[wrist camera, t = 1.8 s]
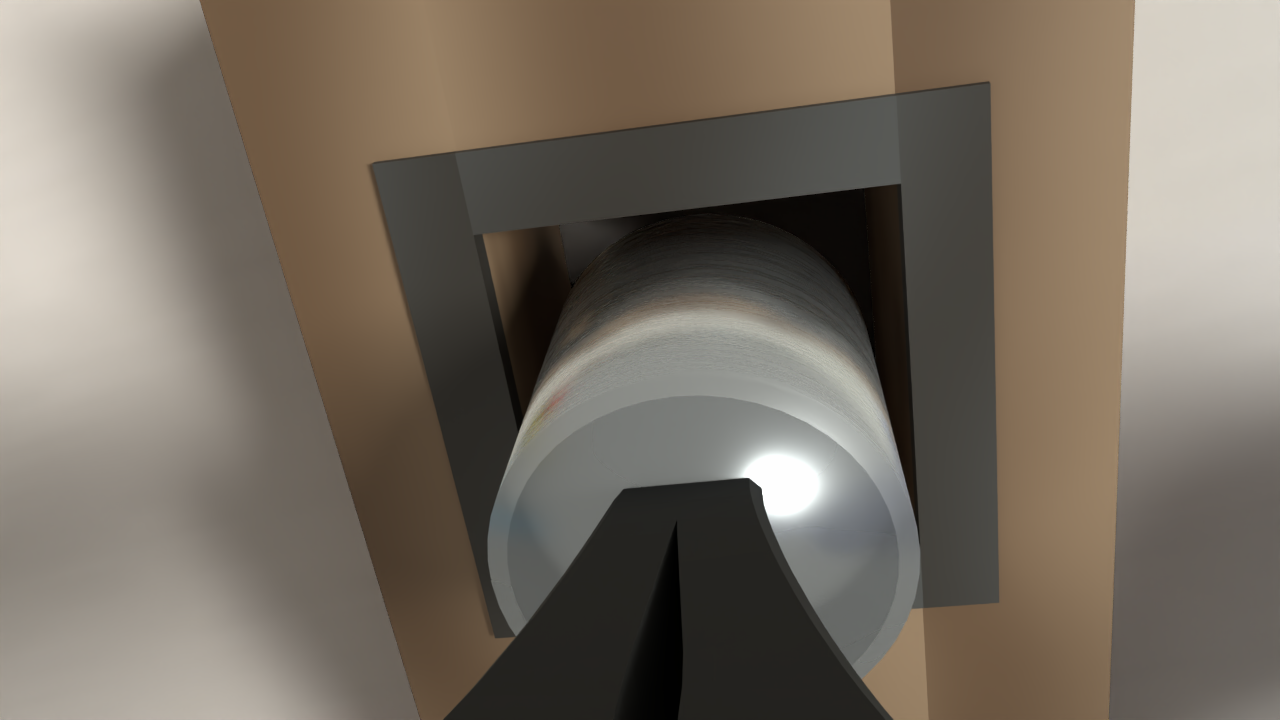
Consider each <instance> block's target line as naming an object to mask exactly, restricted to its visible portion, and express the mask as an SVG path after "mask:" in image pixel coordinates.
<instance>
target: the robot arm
mask: <svg viewBox="0 0 1280 720" xmlns="http://www.w3.org/2000/svg"><path fill="white" fill-rule="evenodd" d="M443 720H893V718H892V717H891V716H890V715H889V714H888V712H887V711H886V710H885V709H884V708H883V706H882V705H881V704H880V703H879V701H878V700H877V699H876V698H875V696H874V695H873V694H872V692H871V691H870V690H869V689H868V687H867V686H866V685H865V683H864V682H863V681H862V679H861V678H860V677H859V675H858V674H857V673H856V671H855V670H854V669H853V667H852V666H851V664H850V663H849V661H848V660H847V659H846V657H845V656H844V654H843V653H842V651H841V650H840V649H839V647H838V646H837V644H836V643H835V641H834V640H833V638H832V637H831V636H830V634H829V632H828V631H827V629H826V628H825V626H824V625H823V623H822V622H821V620H820V618H819V617H818V615H817V614H816V612H815V610H814V609H813V607H812V605H811V603H810V602H809V600H808V598H807V596H806V595H805V593H804V591H803V590H802V588H801V586H800V584H799V583H798V581H797V579H796V577H795V576H794V574H793V572H792V570H791V568H790V566H789V564H788V562H787V560H786V558H785V556H784V554H783V552H782V550H781V548H780V545H779V543H778V541H777V539H776V537H775V534H774V532H773V529H772V527H771V524H770V522H769V519H768V516H767V513H766V509H765V505H764V499H763V491H762V487H761V486H759V485H758V484H757V483H755V482H754V481H753V480H752V479H750V478H742V479H730V480H719V481H707V482H696V483H685V484H673V485H662V486H651V487H639V488H628V489H623V490H622V491H621V492H620V494H619V495H618V496H617V497H616V498H615V499H614V501H613V502H612V504H611V505H610V507H609V508H608V510H607V511H606V513H605V514H604V516H603V517H602V519H601V520H600V522H599V523H598V525H597V526H596V528H595V529H594V531H593V532H592V534H591V535H590V537H589V538H588V540H587V541H586V543H585V544H584V546H583V547H582V549H581V550H580V551H579V553H578V554H577V556H576V557H575V559H574V560H573V562H572V563H571V564H570V566H569V567H568V569H567V570H566V572H565V573H564V574H563V576H562V577H561V578H560V580H559V581H558V582H557V584H556V585H555V586H554V588H553V589H552V590H551V592H550V593H549V594H548V596H547V597H546V598H545V600H544V601H543V602H542V604H541V605H540V606H539V608H538V609H537V611H536V612H535V613H534V615H533V616H532V617H531V619H530V620H529V621H528V622H527V624H526V625H525V626H524V627H523V629H522V630H521V631H520V632H519V634H518V635H517V636H516V637H515V638H514V640H513V641H512V642H511V643H510V644H509V645H508V647H507V648H506V649H505V650H504V651H503V653H502V654H501V655H500V656H499V657H498V658H497V660H496V661H495V662H494V663H493V664H492V666H491V667H490V668H489V669H488V670H487V671H486V673H485V674H484V675H483V676H482V677H481V679H480V680H479V681H478V682H477V683H476V684H475V686H474V687H473V688H472V689H471V690H470V691H469V692H468V693H467V694H466V695H465V697H464V698H463V699H462V700H461V701H460V702H459V703H458V704H457V705H456V706H455V707H454V708H453V709H452V711H451V712H450V713H449V714H448V715H447V716H446V717H445V718H444V719H443Z"/></svg>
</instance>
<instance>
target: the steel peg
mask: <svg viewBox="0 0 1280 720" xmlns="http://www.w3.org/2000/svg"><path fill="white" fill-rule="evenodd" d="M742 478H750V479H752V480H753V481H754V482H755V483H757V484H758V485H759V486H761V487H762V491H763V499H764V505H765V509H766V513H767V516H768V519H769V522H770V524H771V527H772V529H773V532H774V534H775V537H776V539H777V541H778V543H779V545H780V548H781V550H782V552H783V554H784V556H785V558H786V560H787V562H788V564H789V566H790V568H791V570H792V572H793V574H794V576H795V577H796V579H797V581H798V583H799V584H800V586H801V588H802V590H803V591H804V593H805V595H806V596H807V598H808V600H809V602H810V603H811V605H812V607H813V609H814V610H815V612H816V614H817V615H818V617H819V618H820V620H821V622H822V623H823V625H824V626H825V628H826V629H827V631H828V632H829V634H830V636H831V637H832V638H833V640H834V641H835V643H836V644H837V646H838V647H839V649H840V650H841V651H842V653H843V654H844V656H845V657H846V659H847V660H848V661H849V663H850V664H851V666H852V667H853V669H854V670H855V671H856V673H857V674H858V675H859V677H860V678H861V679H862V678H863V677H864V676H866V675H867V674H868V672H869V671H870V670H871V669H872V668H873V667H874V666H875V665H876V664H877V663H878V662H879V661H880V660H881V659H882V658H883V657H884V655H885V654H886V653H887V651H888V650H889V649H890V647H891V646H892V645H893V644H894V642H895V641H896V639H897V637H898V636H899V634H900V632H901V630H902V628H903V626H904V625H905V623H906V621H907V619H908V616H909V613H910V611H911V608H912V605H913V602H914V600H915V596H916V591H917V586H918V580H919V575H920V545H919V538H918V531H917V525H916V521H915V517H914V513H913V509H912V505H911V501H910V498H909V494H908V490H907V486H906V482H905V478H904V474H903V470H902V466H901V462H900V458H899V454H898V450H897V446H896V442H895V438H894V434H893V430H892V426H891V423H890V419H889V415H888V411H887V407H886V403H885V399H884V395H883V391H882V387H881V383H880V379H879V375H878V371H877V367H876V363H875V359H874V355H873V352H872V348H871V344H870V340H869V336H868V332H867V328H866V325H865V321H864V318H863V315H862V311H861V309H860V307H859V305H858V303H857V300H856V298H855V296H854V294H853V292H852V291H851V289H850V288H849V286H848V285H847V283H846V282H845V280H844V278H843V277H842V276H841V274H840V273H839V272H838V271H837V270H836V269H835V268H834V267H833V265H832V264H831V263H830V262H829V261H828V260H827V259H826V258H825V257H823V256H822V255H821V254H820V253H819V252H818V251H817V250H815V249H814V248H813V247H812V246H810V245H809V244H807V243H806V242H804V241H802V240H801V239H799V238H798V237H796V236H795V235H793V234H791V233H789V232H786V231H784V230H782V229H780V228H778V227H776V226H773V225H770V224H767V223H764V222H761V221H758V220H755V219H750V218H745V217H740V216H735V215H724V214H696V215H686V216H681V217H675V218H670V219H666V220H663V221H660V222H657V223H653V224H650V225H647V226H645V227H643V228H641V229H639V230H637V231H634V232H632V233H630V234H628V235H626V236H625V237H623V238H622V239H620V240H619V241H617V242H616V243H614V244H612V245H611V246H610V247H608V248H607V249H606V250H605V251H604V252H603V253H601V254H600V255H599V256H598V257H597V258H595V260H594V261H593V262H592V263H591V264H590V265H589V266H588V267H587V268H586V270H585V271H584V272H583V273H582V274H581V276H580V277H579V279H578V280H577V282H576V283H575V285H574V286H573V288H572V289H571V291H570V293H569V295H568V297H567V299H566V301H565V303H564V305H563V308H562V311H561V313H560V316H559V319H558V322H557V325H556V328H555V331H554V333H553V336H552V339H551V342H550V345H549V348H548V351H547V354H546V356H545V359H544V362H543V365H542V368H541V371H540V374H539V376H538V379H537V382H536V385H535V388H534V391H533V394H532V397H531V399H530V402H529V405H528V408H527V411H526V414H525V417H524V419H523V422H522V425H521V428H520V431H519V434H518V437H517V439H516V442H515V445H514V448H513V451H512V454H511V457H510V460H509V462H508V465H507V468H506V471H505V474H504V477H503V480H502V482H501V485H500V488H499V491H498V494H497V497H496V500H495V504H494V507H493V510H492V513H491V518H490V525H489V532H488V565H489V571H490V577H491V582H492V586H493V589H494V592H495V595H496V598H497V601H498V604H499V607H500V609H501V611H502V613H503V615H504V617H505V619H506V621H507V623H508V625H509V627H510V628H511V630H512V631H513V632H514V634H515V635H516V636H517V635H518V634H519V632H520V631H521V630H522V629H523V627H524V626H525V625H526V624H527V622H528V621H529V620H530V619H531V617H532V616H533V615H534V613H535V612H536V611H537V609H538V608H539V606H540V605H541V604H542V602H543V601H544V600H545V598H546V597H547V596H548V594H549V593H550V592H551V590H552V589H553V588H554V586H555V585H556V584H557V582H558V581H559V580H560V578H561V577H562V576H563V574H564V573H565V572H566V570H567V569H568V567H569V566H570V564H571V563H572V562H573V560H574V559H575V557H576V556H577V554H578V553H579V551H580V550H581V549H582V547H583V546H584V544H585V543H586V541H587V540H588V538H589V537H590V535H591V534H592V532H593V531H594V529H595V528H596V526H597V525H598V523H599V522H600V520H601V519H602V517H603V516H604V514H605V513H606V511H607V510H608V508H609V507H610V505H611V504H612V502H613V501H614V499H615V498H616V497H617V496H618V495H619V494H620V492H621V491H622V490H623V489H628V488H639V487H651V486H662V485H673V484H685V483H696V482H707V481H719V480H730V479H742Z"/></svg>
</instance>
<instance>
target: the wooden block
mask: <svg viewBox="0 0 1280 720" xmlns="http://www.w3.org/2000/svg"><path fill="white" fill-rule="evenodd" d="M200 3H201V6H202V10H203V13H204V16H205V19H206V23H207V26H208V29H209V32H210V36H211V39H212V42H213V45H214V49H215V52H216V55H217V58H218V62H219V65H220V68H221V71H222V75H223V78H224V81H225V84H226V88H227V91H228V94H229V97H230V101H231V104H232V107H233V110H234V114H235V117H236V120H237V124H238V127H239V130H240V133H241V137H242V140H243V143H244V146H245V150H246V153H247V156H248V159H249V163H250V166H251V169H252V172H253V176H254V179H255V182H256V185H257V189H258V192H259V195H260V198H261V202H262V205H263V208H264V211H265V215H266V218H267V221H268V224H269V228H270V231H271V234H272V237H273V241H274V244H275V247H276V251H277V254H278V257H279V260H280V264H281V267H282V270H283V273H284V277H285V280H286V283H287V286H288V290H289V293H290V296H291V299H292V303H293V306H294V309H295V312H296V316H297V319H298V322H299V325H300V329H301V332H302V335H303V338H304V342H305V345H306V348H307V351H308V355H309V358H310V361H311V364H312V368H313V371H314V374H315V378H316V381H317V384H318V387H319V391H320V394H321V397H322V400H323V404H324V407H325V410H326V413H327V417H328V420H329V423H330V426H331V430H332V433H333V436H334V439H335V443H336V446H337V449H338V452H339V456H340V459H341V462H342V465H343V469H344V472H345V475H346V478H347V482H348V485H349V488H350V491H351V495H352V498H353V501H354V504H355V508H356V511H357V514H358V518H359V521H360V524H361V527H362V531H363V534H364V537H365V540H366V544H367V547H368V550H369V553H370V557H371V560H372V563H373V566H374V570H375V573H376V576H377V579H378V583H379V586H380V589H381V592H382V596H383V599H384V602H385V605H386V609H387V612H388V615H389V618H390V622H391V625H392V628H393V631H394V635H395V638H396V641H397V645H398V648H399V651H400V654H401V658H402V661H403V664H404V667H405V671H406V674H407V677H408V680H409V684H410V687H411V690H412V693H413V697H414V700H415V703H416V706H417V710H418V713H419V716H420V719H421V720H443V719H444V718H445V717H446V716H447V715H448V714H449V713H450V712H451V711H452V709H453V708H454V707H455V706H456V705H457V704H458V703H459V702H460V701H461V700H462V699H463V698H464V697H465V695H466V694H467V693H468V692H469V691H470V690H471V689H472V688H473V687H474V686H475V684H476V683H477V682H478V681H479V680H480V679H481V677H482V676H483V675H484V674H485V673H486V671H487V670H488V669H489V668H490V667H491V666H492V664H493V663H494V662H495V661H496V660H497V658H498V657H499V656H500V655H501V654H502V653H503V651H504V650H505V649H506V648H507V647H508V645H509V644H510V643H511V642H512V641H513V640H514V638H515V637H516V635H515V634H514V632H513V631H512V630H511V628H510V627H509V625H508V623H507V621H506V619H505V617H504V615H503V613H502V611H501V609H500V607H499V604H498V601H497V598H496V595H495V592H494V589H493V586H492V582H491V577H490V571H489V565H488V532H489V525H490V518H491V513H492V510H493V507H494V504H495V500H496V497H497V494H498V491H499V488H500V485H501V482H502V480H503V477H504V474H505V471H506V468H507V465H508V462H509V460H510V457H511V454H512V451H513V448H514V445H515V442H516V439H517V437H518V434H519V431H520V428H521V425H522V422H523V419H524V417H525V414H526V411H527V408H528V405H529V402H530V399H531V397H532V394H533V391H534V388H535V385H536V382H537V379H538V376H539V374H540V371H541V368H542V365H543V362H544V359H545V356H546V354H547V351H548V348H549V345H550V342H551V339H552V336H553V333H554V331H555V328H556V325H557V322H558V319H559V316H560V313H561V311H562V308H563V305H564V303H565V301H566V299H567V297H568V295H569V293H570V291H571V285H570V280H569V275H568V270H567V264H566V259H565V254H564V249H563V243H562V238H561V233H560V228H559V225H561V224H569V223H578V222H586V221H594V220H603V219H611V218H619V217H628V216H636V215H644V214H652V213H661V212H669V211H677V210H686V209H694V208H702V207H710V206H719V205H727V204H735V203H744V202H752V201H760V200H768V199H777V198H785V197H793V196H802V195H810V194H818V193H826V192H835V191H843V190H851V189H860V188H864V193H865V208H866V223H867V237H868V252H869V267H870V282H871V297H872V311H873V326H874V341H875V356H876V367H877V371H878V375H879V379H880V383H881V387H882V391H883V395H884V399H885V403H886V407H887V411H888V415H889V419H890V423H891V426H892V430H893V434H894V438H895V442H896V446H897V450H898V454H899V458H900V462H901V466H902V470H903V474H904V478H905V482H906V486H907V490H908V494H909V498H910V501H911V505H912V509H913V513H914V517H915V521H916V525H917V531H918V538H919V545H920V575H919V580H918V586H917V591H916V596H915V600H914V602H913V605H912V608H911V611H910V613H909V616H908V619H907V621H906V623H905V625H904V626H903V628H902V630H901V632H900V634H899V636H898V637H897V639H896V641H895V642H894V644H893V645H892V646H891V647H890V649H889V650H888V651H887V653H886V654H885V655H884V657H883V658H882V659H881V660H880V661H879V662H878V663H877V664H876V665H875V666H874V667H873V668H872V669H871V670H870V671H869V672H868V674H867V675H866V676H864V677H863V678H862V681H863V682H864V683H865V685H866V686H867V687H868V689H869V690H870V691H871V692H872V694H873V695H874V696H875V698H876V699H877V700H878V701H879V703H880V704H881V705H882V706H883V708H884V709H885V710H886V711H887V712H888V714H889V715H890V716H891V717H892V718H893V720H1109V698H1110V671H1111V644H1112V616H1113V589H1114V561H1115V534H1116V506H1117V479H1118V451H1119V424H1120V397H1121V369H1122V342H1123V314H1124V287H1125V259H1126V232H1127V204H1128V177H1129V149H1130V122H1131V95H1132V67H1133V40H1134V12H1135V0H200Z"/></svg>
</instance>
